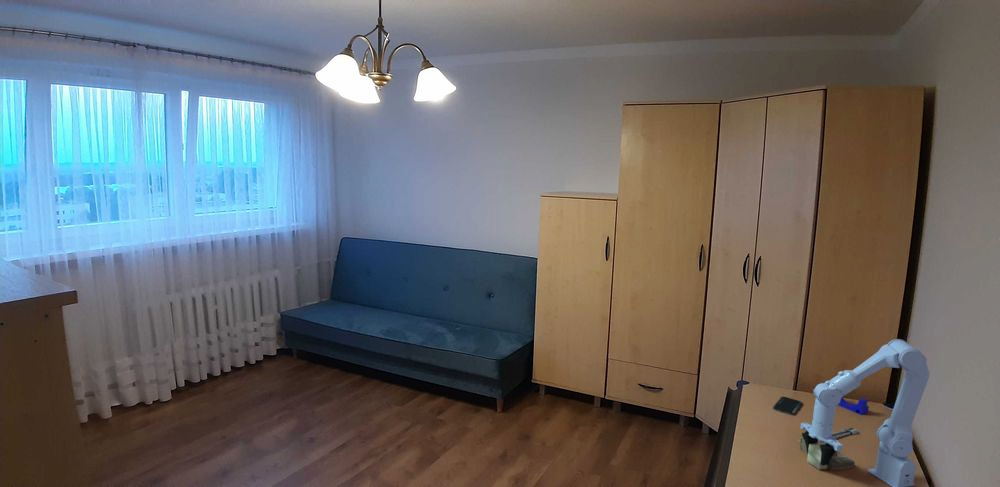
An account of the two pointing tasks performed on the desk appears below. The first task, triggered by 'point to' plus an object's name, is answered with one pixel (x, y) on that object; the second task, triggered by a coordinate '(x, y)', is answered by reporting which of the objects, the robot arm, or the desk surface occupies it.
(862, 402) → the blue u-shaped bracket
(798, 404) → the phone
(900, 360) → the robot arm
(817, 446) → the joiner mallet
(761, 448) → the desk surface
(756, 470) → the desk surface
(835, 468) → the brown flat block
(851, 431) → the flamethrower
